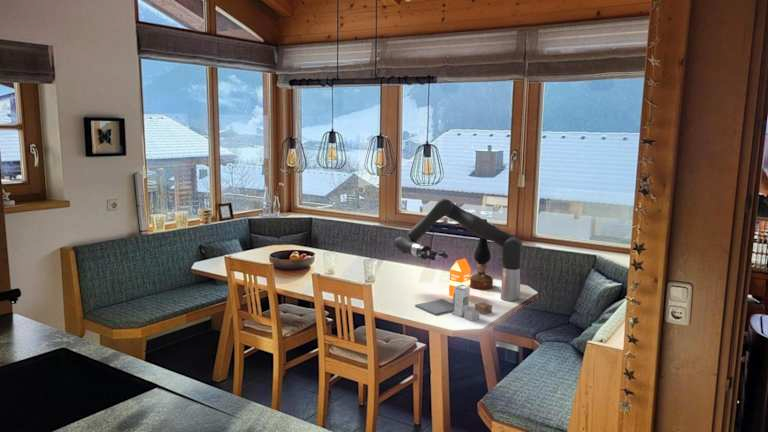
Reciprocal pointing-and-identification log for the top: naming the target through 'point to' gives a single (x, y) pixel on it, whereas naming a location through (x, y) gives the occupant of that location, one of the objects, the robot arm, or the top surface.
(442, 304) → the charcoal mat
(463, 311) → the syrup box
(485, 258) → the oil lamp
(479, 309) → the walnut block
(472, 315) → the grey plastic block
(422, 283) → the top surface
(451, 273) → the orange juice
